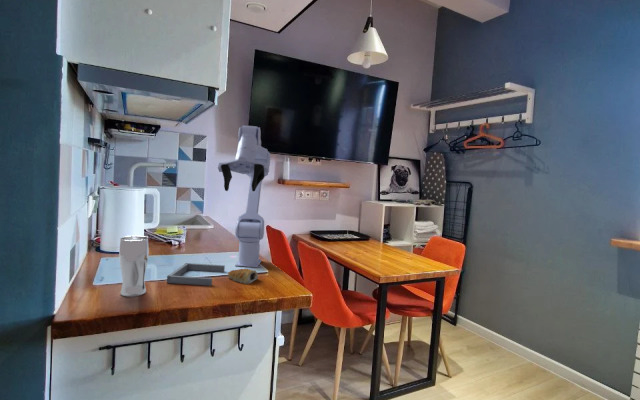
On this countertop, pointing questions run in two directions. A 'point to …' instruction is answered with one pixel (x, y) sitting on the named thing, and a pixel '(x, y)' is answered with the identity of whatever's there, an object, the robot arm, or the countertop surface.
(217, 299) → the countertop surface
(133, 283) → the beer glass
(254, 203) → the robot arm
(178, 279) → the tray slot
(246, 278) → the pastry
